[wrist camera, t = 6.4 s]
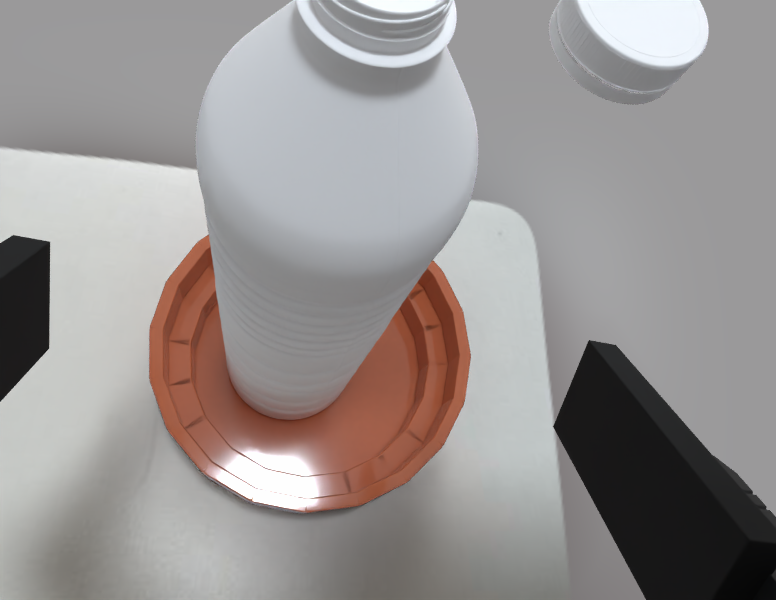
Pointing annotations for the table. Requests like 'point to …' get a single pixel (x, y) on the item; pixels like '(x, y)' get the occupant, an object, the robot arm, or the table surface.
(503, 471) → the table surface
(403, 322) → the bowl
